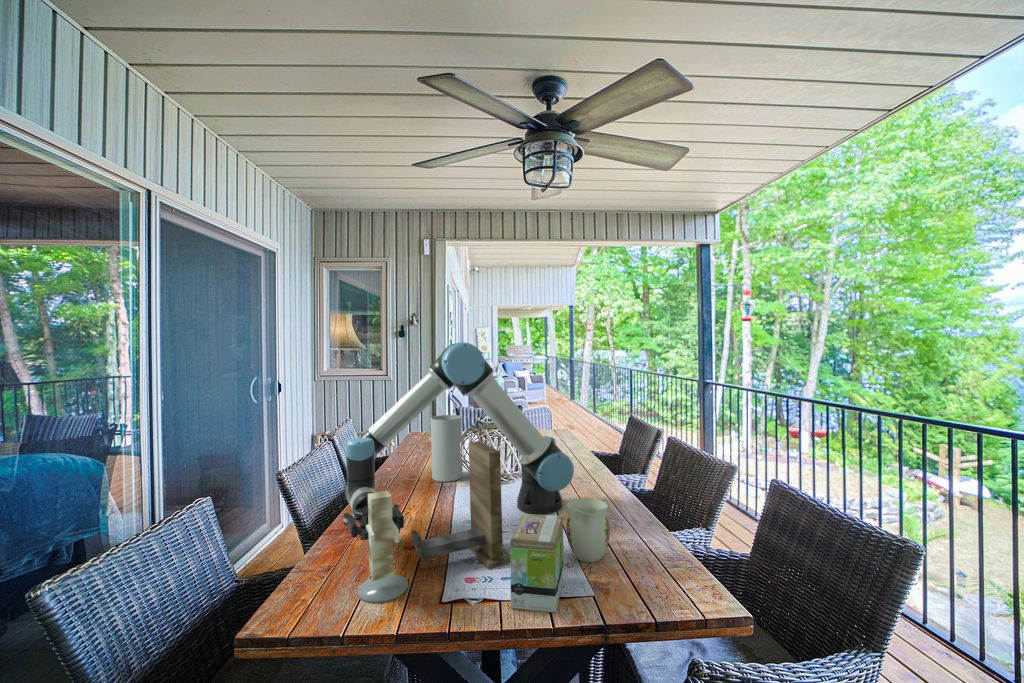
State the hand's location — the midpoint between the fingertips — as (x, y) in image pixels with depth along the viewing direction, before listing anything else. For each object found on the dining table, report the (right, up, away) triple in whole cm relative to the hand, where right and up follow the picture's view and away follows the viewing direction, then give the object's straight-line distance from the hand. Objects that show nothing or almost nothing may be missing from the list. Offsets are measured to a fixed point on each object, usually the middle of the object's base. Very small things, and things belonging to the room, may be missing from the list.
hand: (385, 538), depth 100 cm
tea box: (+34, -13, +2) cm, 36 cm away
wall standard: (+14, -13, +18) cm, 26 cm away
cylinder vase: (+1, -14, +90) cm, 91 cm away
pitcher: (+47, -12, +19) cm, 53 cm away
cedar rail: (-2, -10, +5) cm, 11 cm away
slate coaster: (-2, -13, +5) cm, 14 cm away
